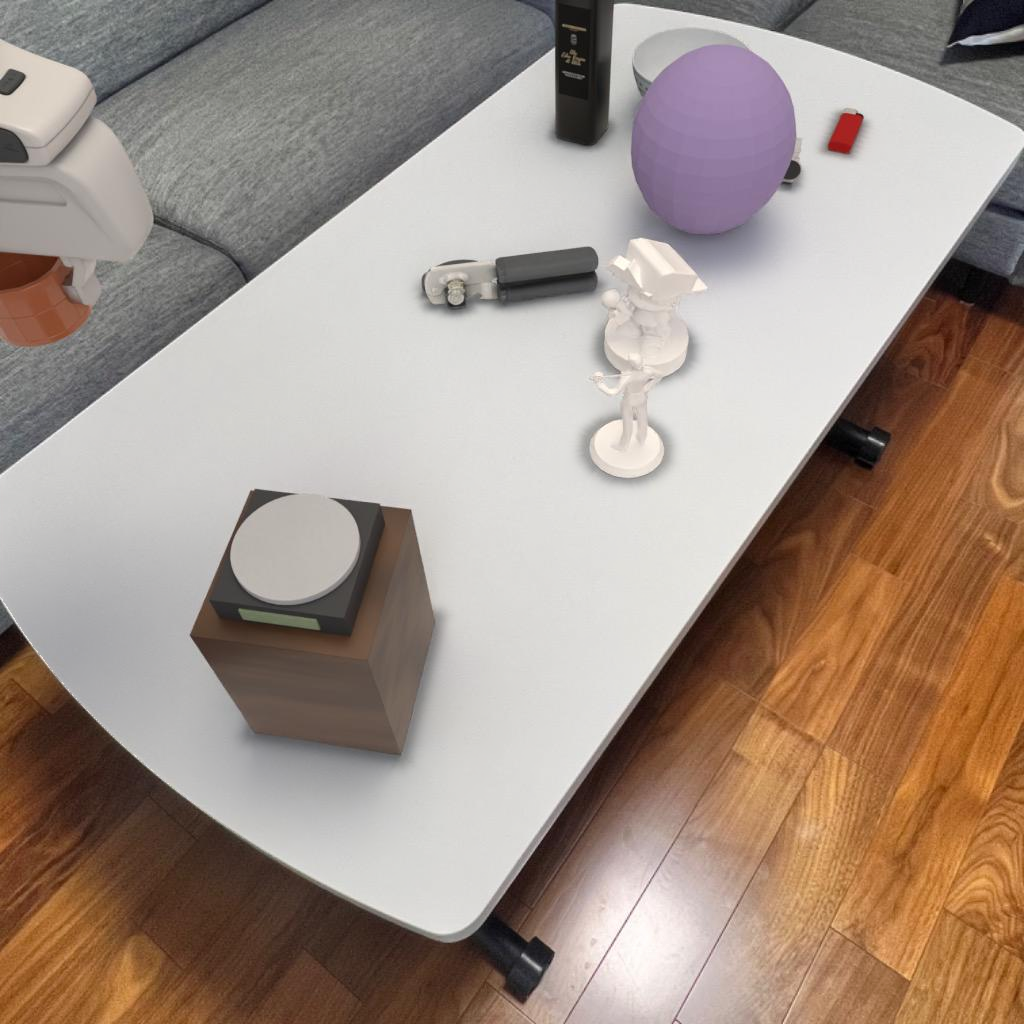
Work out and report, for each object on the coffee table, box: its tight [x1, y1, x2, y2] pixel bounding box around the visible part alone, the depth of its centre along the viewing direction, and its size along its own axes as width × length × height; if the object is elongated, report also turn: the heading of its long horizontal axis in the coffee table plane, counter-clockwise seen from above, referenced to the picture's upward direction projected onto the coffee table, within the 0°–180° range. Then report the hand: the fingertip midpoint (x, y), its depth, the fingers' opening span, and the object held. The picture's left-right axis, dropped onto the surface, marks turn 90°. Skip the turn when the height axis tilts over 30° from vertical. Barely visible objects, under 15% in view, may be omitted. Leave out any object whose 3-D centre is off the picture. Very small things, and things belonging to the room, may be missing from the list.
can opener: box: [421, 246, 599, 310], centre depth 101 cm, size 19×6×5 cm, turn 95°
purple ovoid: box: [630, 44, 798, 235], centre depth 100 cm, size 17×17×20 cm
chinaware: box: [631, 26, 753, 98], centre depth 118 cm, size 15×15×8 cm
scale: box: [209, 488, 385, 636], centre depth 62 cm, size 9×9×3 cm
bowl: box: [0, 252, 94, 348], centre depth 62 cm, size 6×6×4 cm
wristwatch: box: [782, 137, 804, 184], centre depth 111 cm, size 3×5×5 cm, turn 163°
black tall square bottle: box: [554, 0, 615, 146], centre depth 108 cm, size 6×6×30 cm
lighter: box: [827, 107, 865, 154], centre depth 117 cm, size 3×1×8 cm
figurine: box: [588, 352, 665, 479], centre depth 84 cm, size 7×7×12 cm
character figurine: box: [600, 237, 708, 380], centre depth 92 cm, size 9×10×12 cm
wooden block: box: [189, 489, 436, 756], centre depth 70 cm, size 12×12×16 cm
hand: (33, 294), depth 62 cm, fingers closed on bowl, 6 cm apart
